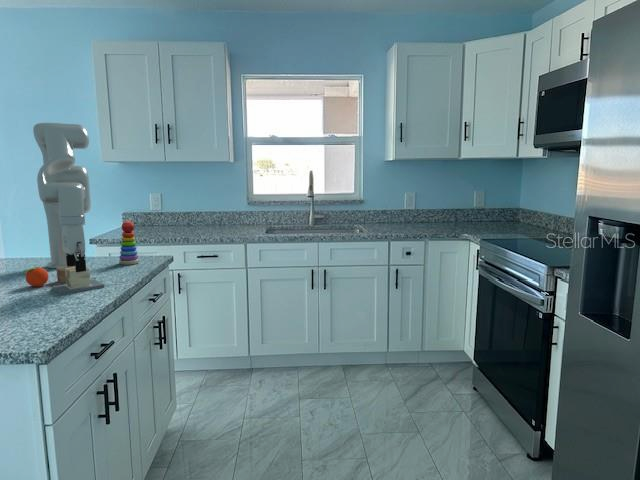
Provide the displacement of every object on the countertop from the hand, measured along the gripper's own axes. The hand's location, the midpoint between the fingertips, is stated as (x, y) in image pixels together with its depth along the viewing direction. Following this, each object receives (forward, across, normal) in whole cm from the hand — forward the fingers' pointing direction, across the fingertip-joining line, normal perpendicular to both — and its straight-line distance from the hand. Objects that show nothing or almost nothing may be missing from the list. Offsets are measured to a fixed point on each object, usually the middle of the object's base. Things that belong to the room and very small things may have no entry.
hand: (76, 268), depth 155 cm
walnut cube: (+7, -12, 0) cm, 14 cm away
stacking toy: (+8, -27, +29) cm, 40 cm away
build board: (+7, +1, 0) cm, 7 cm away
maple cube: (+6, +1, 0) cm, 6 cm away
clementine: (+7, -12, -10) cm, 17 cm away
